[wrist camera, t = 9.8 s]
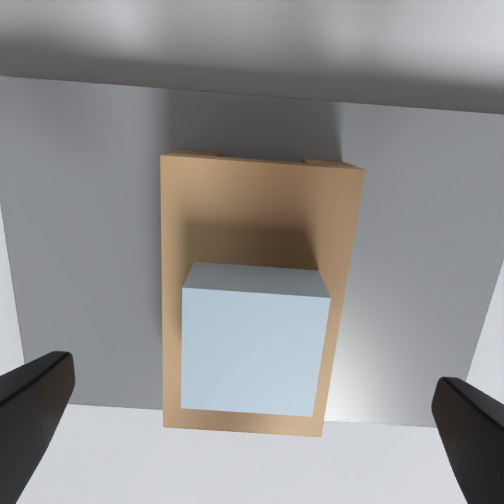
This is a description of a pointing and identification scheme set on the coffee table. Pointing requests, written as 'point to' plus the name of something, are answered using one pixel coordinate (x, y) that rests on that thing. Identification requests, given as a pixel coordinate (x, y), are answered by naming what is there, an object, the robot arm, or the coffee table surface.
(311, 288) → the pale blue square block
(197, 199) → the board
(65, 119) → the slate dock
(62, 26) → the coffee table surface
